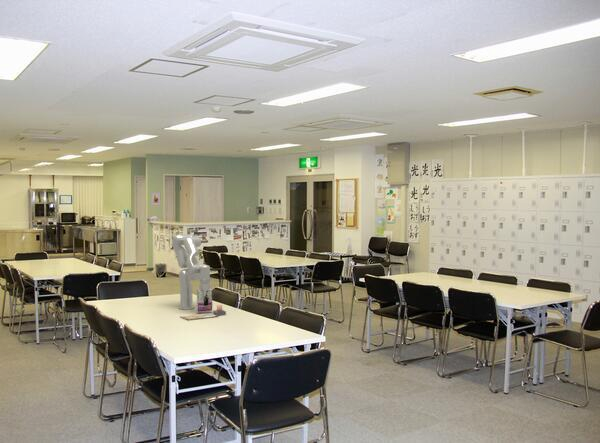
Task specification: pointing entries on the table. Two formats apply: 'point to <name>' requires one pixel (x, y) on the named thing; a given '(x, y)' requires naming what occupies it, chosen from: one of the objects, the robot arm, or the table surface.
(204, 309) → the candy bar box
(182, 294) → the robot arm
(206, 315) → the clipboard
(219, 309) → the button
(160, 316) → the table surface
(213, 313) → the button housing
